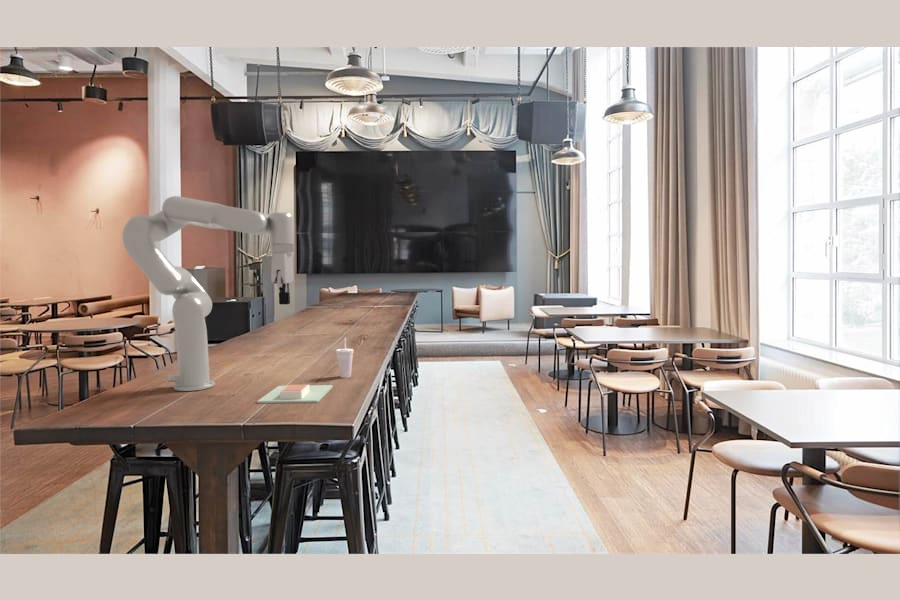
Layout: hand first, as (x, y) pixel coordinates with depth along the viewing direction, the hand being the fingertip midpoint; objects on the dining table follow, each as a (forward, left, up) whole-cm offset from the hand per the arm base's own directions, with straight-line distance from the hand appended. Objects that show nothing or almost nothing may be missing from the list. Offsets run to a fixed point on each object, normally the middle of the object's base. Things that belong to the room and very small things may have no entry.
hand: (284, 304), depth 197 cm
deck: (+8, -15, -25) cm, 31 cm away
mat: (+8, -17, -27) cm, 33 cm away
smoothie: (+18, +9, -27) cm, 34 cm away
